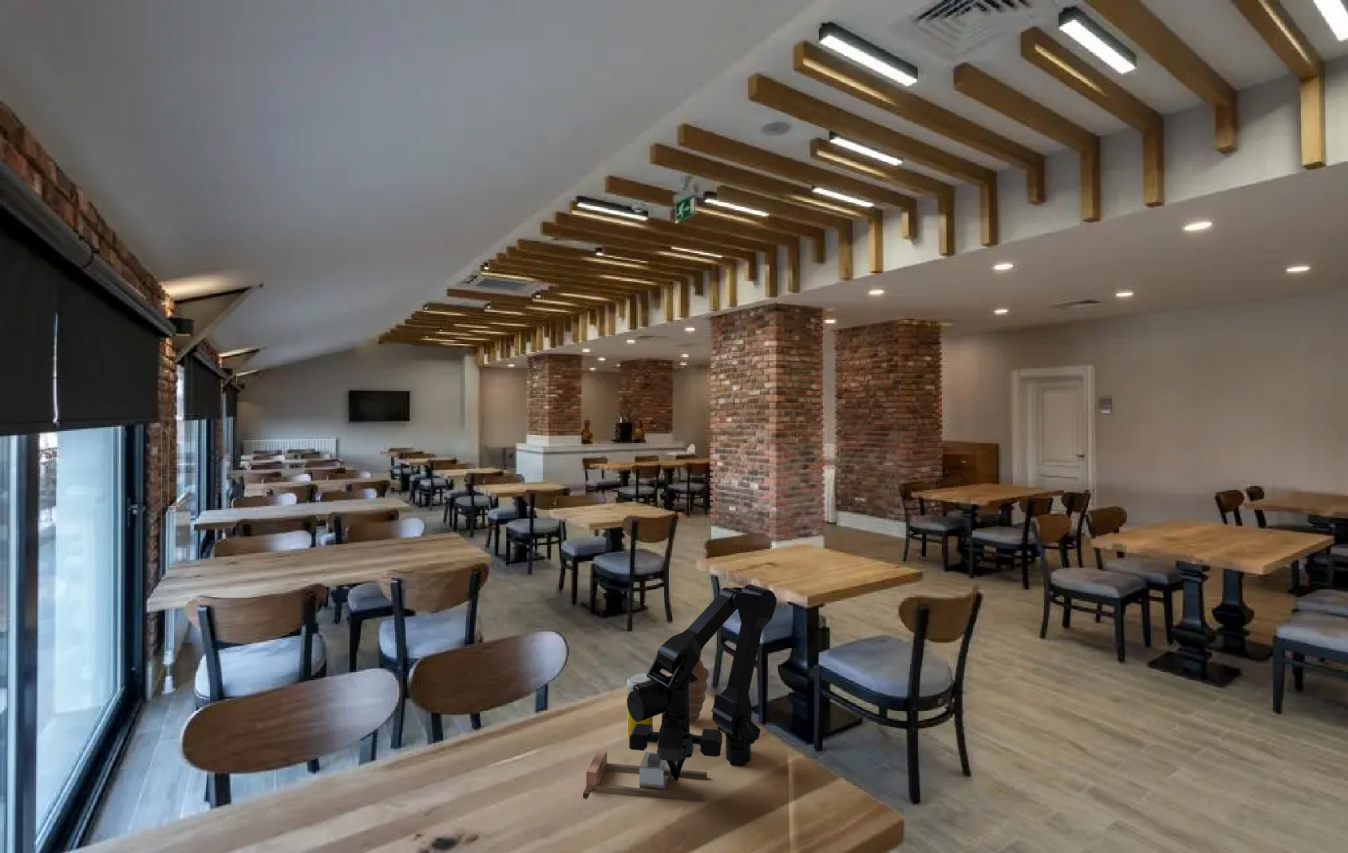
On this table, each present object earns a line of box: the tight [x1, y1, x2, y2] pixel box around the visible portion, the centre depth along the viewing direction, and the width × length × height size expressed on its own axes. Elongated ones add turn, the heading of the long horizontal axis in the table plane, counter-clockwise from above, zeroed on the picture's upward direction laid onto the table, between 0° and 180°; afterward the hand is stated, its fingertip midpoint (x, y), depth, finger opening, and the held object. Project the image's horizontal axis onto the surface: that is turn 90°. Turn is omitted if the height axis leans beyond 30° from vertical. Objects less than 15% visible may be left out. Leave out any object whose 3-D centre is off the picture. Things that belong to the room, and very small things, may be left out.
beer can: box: [626, 672, 654, 739], centre depth 150 cm, size 6×6×15 cm
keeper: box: [638, 751, 670, 791], centre depth 130 cm, size 6×5×6 cm
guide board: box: [582, 749, 708, 803], centre depth 131 cm, size 10×25×5 cm, turn 80°
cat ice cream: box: [689, 654, 710, 723], centre depth 158 cm, size 9×8×18 cm
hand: (676, 779), depth 130 cm, fingers closed
